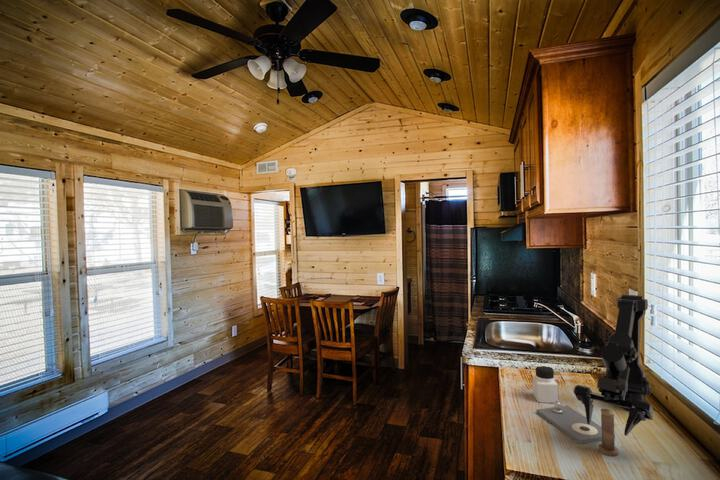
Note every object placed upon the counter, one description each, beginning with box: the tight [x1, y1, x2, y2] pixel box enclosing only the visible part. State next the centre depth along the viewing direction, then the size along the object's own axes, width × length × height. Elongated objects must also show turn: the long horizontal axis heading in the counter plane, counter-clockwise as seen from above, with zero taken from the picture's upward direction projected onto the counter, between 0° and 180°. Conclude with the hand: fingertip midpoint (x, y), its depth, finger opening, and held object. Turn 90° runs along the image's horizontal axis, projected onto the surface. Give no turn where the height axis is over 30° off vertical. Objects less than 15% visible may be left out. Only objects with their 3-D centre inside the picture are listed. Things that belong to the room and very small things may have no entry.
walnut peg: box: [598, 408, 619, 457], centre depth 107 cm, size 5×5×12 cm
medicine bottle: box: [532, 365, 559, 404], centre depth 141 cm, size 7×7×12 cm
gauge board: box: [536, 405, 616, 445], centre depth 122 cm, size 12×20×1 cm, turn 10°
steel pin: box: [552, 400, 563, 414], centre depth 129 cm, size 3×3×3 cm
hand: (606, 429), depth 106 cm, fingers open, 9 cm apart
